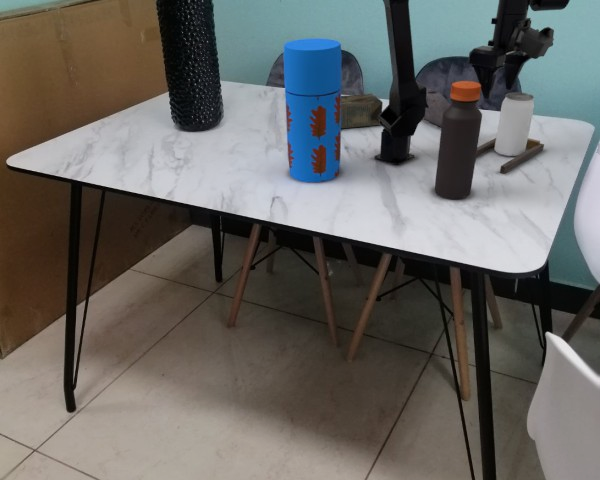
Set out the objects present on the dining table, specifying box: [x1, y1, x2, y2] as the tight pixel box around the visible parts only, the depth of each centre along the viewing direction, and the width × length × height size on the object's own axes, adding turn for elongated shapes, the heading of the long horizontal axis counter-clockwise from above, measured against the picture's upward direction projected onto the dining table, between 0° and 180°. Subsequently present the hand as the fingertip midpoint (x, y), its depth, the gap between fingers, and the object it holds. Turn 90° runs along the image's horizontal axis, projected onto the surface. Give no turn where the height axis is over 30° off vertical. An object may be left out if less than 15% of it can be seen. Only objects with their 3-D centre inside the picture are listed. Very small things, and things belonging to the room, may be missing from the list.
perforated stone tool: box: [423, 87, 451, 128], centre depth 142 cm, size 15×5×7 cm, turn 14°
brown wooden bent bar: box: [476, 137, 545, 175], centre depth 123 cm, size 17×10×2 cm, turn 135°
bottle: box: [434, 80, 483, 200], centre depth 104 cm, size 7×7×20 cm
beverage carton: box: [341, 92, 384, 129], centre depth 143 cm, size 8×19×7 cm, turn 102°
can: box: [493, 91, 535, 158], centre depth 122 cm, size 6×6×12 cm
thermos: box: [282, 38, 343, 183], centre depth 113 cm, size 11×11×25 cm
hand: (498, 94), depth 121 cm, fingers open, 9 cm apart
